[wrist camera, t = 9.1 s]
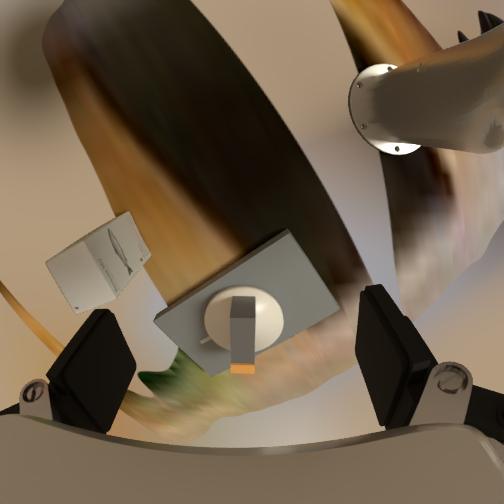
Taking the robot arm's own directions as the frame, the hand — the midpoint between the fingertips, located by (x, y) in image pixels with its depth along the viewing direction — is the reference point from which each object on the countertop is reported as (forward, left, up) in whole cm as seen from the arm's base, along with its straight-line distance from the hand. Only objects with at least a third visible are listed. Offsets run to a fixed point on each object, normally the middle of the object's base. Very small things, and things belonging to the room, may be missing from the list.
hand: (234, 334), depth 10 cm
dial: (+10, +14, -26) cm, 31 cm away
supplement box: (+18, -5, -28) cm, 34 cm away
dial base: (+10, +14, -28) cm, 32 cm away
